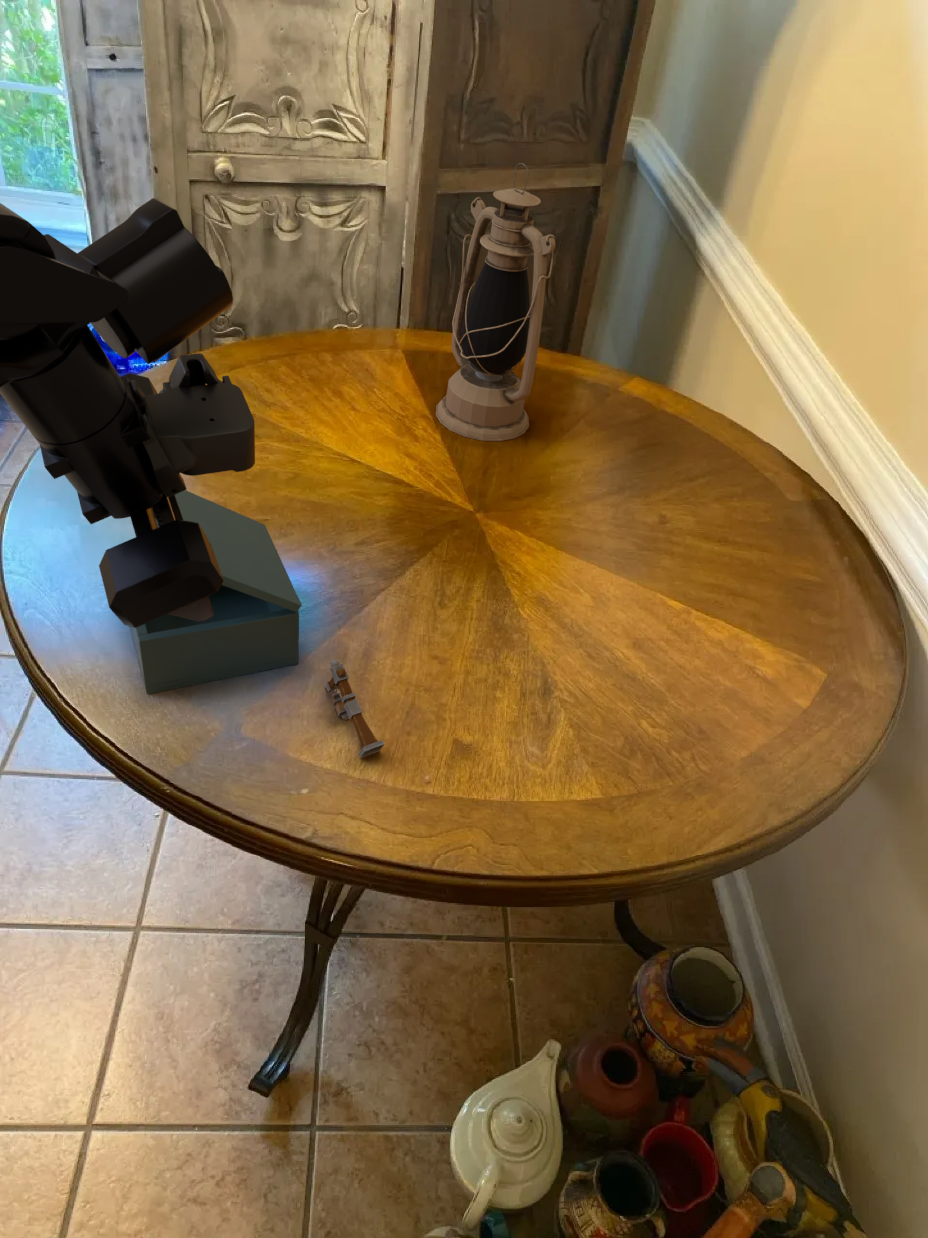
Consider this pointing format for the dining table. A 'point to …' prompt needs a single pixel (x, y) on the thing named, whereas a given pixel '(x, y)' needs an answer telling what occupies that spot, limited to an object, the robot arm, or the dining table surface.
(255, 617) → the chest
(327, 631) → the dining table surface
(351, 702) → the toy rocket launcher
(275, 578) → the lid
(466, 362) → the lantern
